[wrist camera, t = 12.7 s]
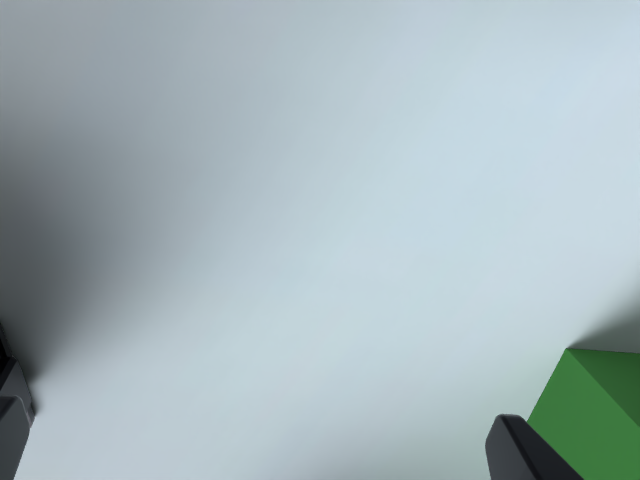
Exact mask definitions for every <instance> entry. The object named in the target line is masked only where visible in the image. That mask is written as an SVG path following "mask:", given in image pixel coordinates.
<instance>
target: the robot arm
mask: <svg viewBox="0 0 640 480" xmlns="http://www.w3.org/2000/svg"><path fill="white" fill-rule="evenodd" d="M31 402H32V398H31V396H30V393H29V390H28V387H27V384H26V382H25V379H24V376H23V373H22V370H21V368H20V365H19V362H18V360H17V359H16V358H15V357H13V356H12V353H11V350H10V347H9V345H8V342H7V339H6V336H5V334H4V331H3V328H2V325H1V323H0V480H14V477H15V474H16V471H17V468H18V465H19V463H20V460H21V457H22V454H23V451H24V448H25V445H26V442H27V440H28V436H29V431H30V428H31V426H32V424H33V422H34V419H35V418H34V414H33V411H32V408H31V405H30V404H31ZM485 449H486V456H487V461H488V466H489V471H490V476H491V480H584V479H583V478H582V477H581V476H580V475H579V474H578V473H577V472H576V471H575V470H574V469H573V468H572V467H571V466H570V465H569V464H568V463H567V462H566V461H565V460H564V459H563V458H562V457H561V456H560V455H559V454H558V453H557V452H556V451H555V450H554V449H553V448H552V447H551V446H550V445H549V444H548V443H547V442H546V441H545V440H544V439H543V438H542V437H541V436H540V435H539V434H538V433H537V432H536V431H535V430H534V429H533V428H532V427H531V426H530V425H529V424H528V423H527V422H526V421H525V420H524V419H523V418H522V417H520V416H518V415H513V414H500V415H498V416H497V417H496V419H495V421H494V423H493V425H492V428H491V430H490V432H489V434H488V437H487V439H486V444H485Z"/></svg>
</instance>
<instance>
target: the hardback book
mask: <svg viewBox="0 0 640 480" xmlns="http://www.w3.org/2000/svg"><path fill="white" fill-rule="evenodd" d="M527 423H528V424H529V425H530V426H531V427H532V428H533V429H534V430H535V431H536V432H537V433H538V434H539V435H540V436H541V437H542V438H543V439H544V440H545V441H546V442H547V443H548V444H549V445H550V446H551V447H552V448H553V449H554V450H555V451H556V452H557V453H558V454H559V455H560V456H561V457H562V458H563V459H564V460H565V461H566V462H567V463H568V464H569V465H570V466H571V467H572V468H573V469H574V470H575V471H576V472H577V473H578V474H579V475H580V476H581V477H582V478H583V479H584V480H640V354H638V353H624V352H610V351H596V350H582V349H568V348H566V349H565V351H564V353H563V355H562V357H561V359H560V361H559V362H558V364H557V366H556V368H555V370H554V372H553V374H552V376H551V377H550V379H549V381H548V383H547V385H546V387H545V389H544V391H543V392H542V394H541V396H540V398H539V400H538V402H537V404H536V406H535V408H534V409H533V411H532V413H531V415H530V417H529V419H528V421H527Z"/></svg>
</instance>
